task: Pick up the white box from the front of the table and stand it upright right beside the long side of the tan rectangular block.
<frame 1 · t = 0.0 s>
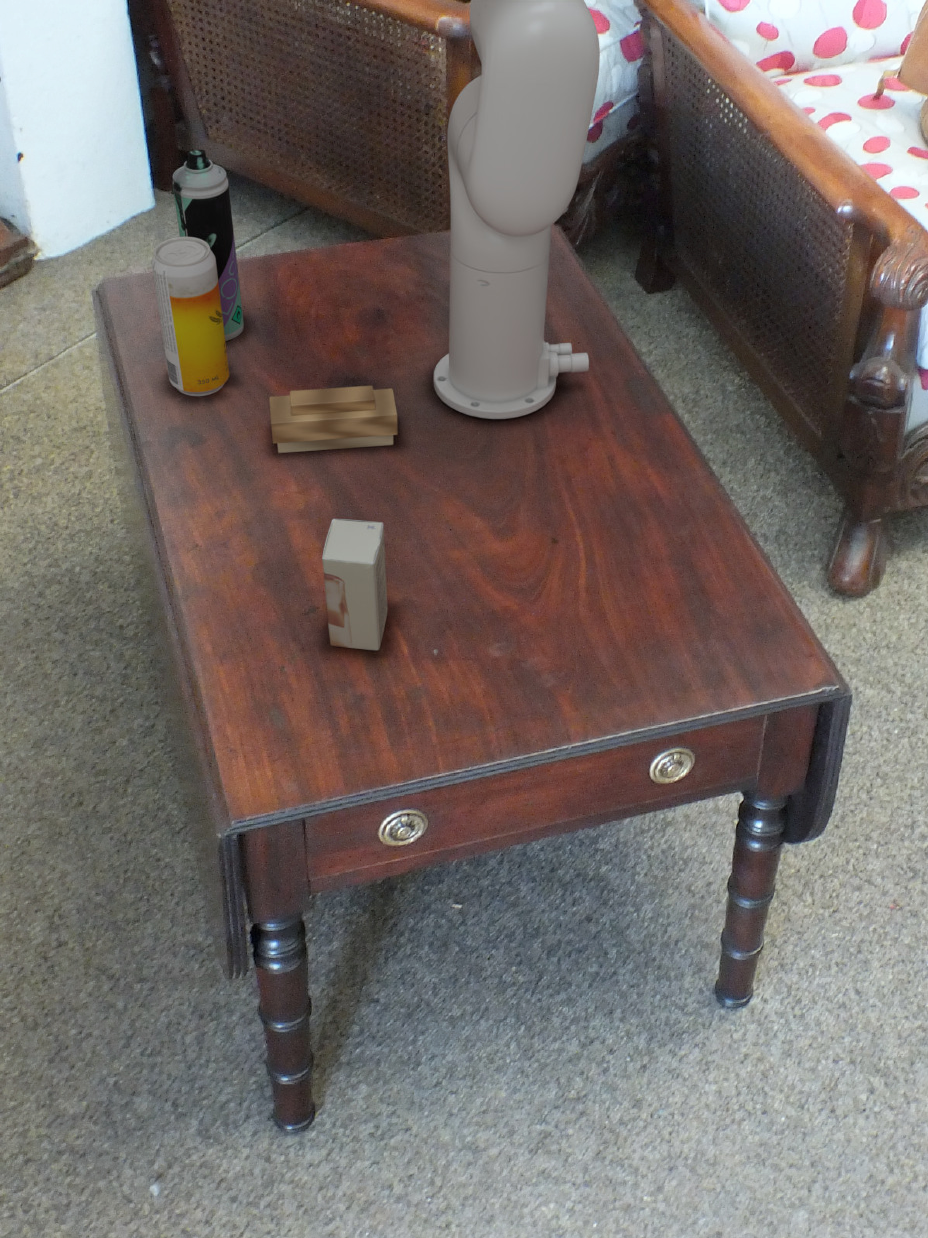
spray can: (218, 329, 149), on the table
beer can: (200, 383, 142), on the table
white box: (358, 630, 117), on the table
tan rectangular block: (334, 437, 136), on the table
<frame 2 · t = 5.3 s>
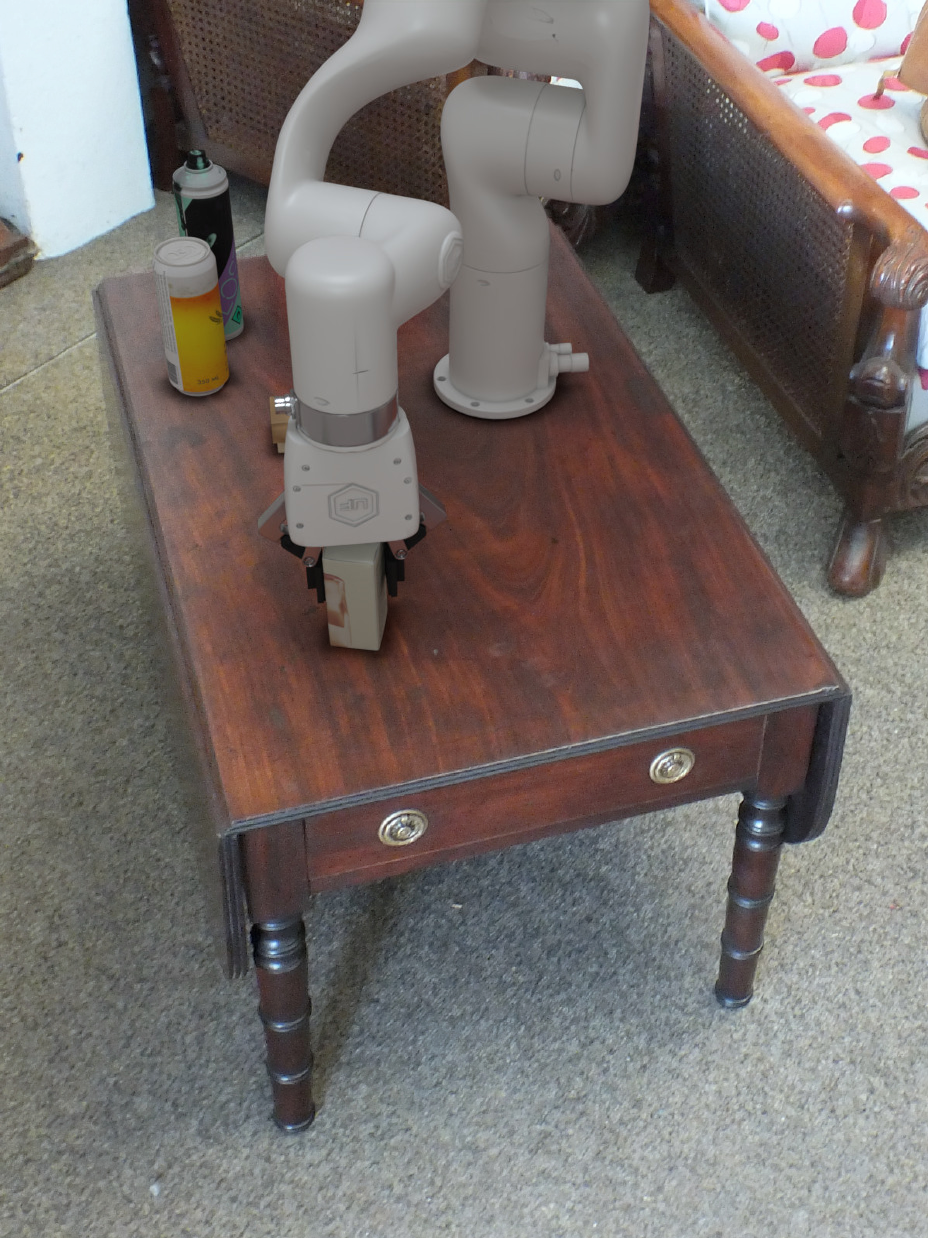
hand: (356, 587, 113), 5 cm above the table, tool pointing down, fingers closed on white box, 5 cm apart
white box: (358, 630, 117), on the table, touching gripper
everything else where it was.
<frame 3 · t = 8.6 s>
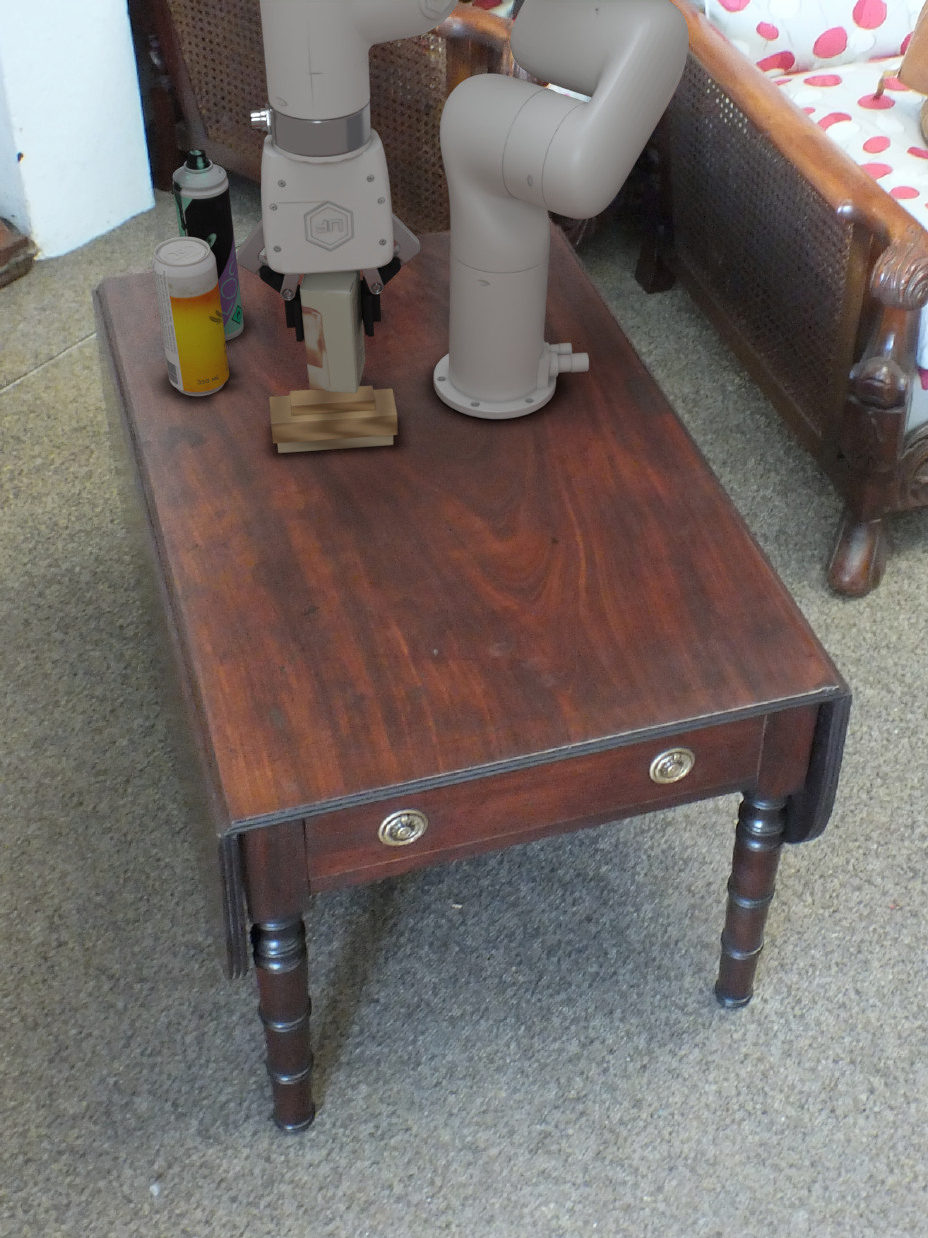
hand: (334, 328, 116), 18 cm above the table, tool pointing down, fingers closed on white box, 5 cm apart
white box: (336, 378, 120), point 13 cm above the table, touching gripper
everything else where it was.
when the fingers open (5 cm above the table, at t = 12.0 s): white box stays where it is, on the table.
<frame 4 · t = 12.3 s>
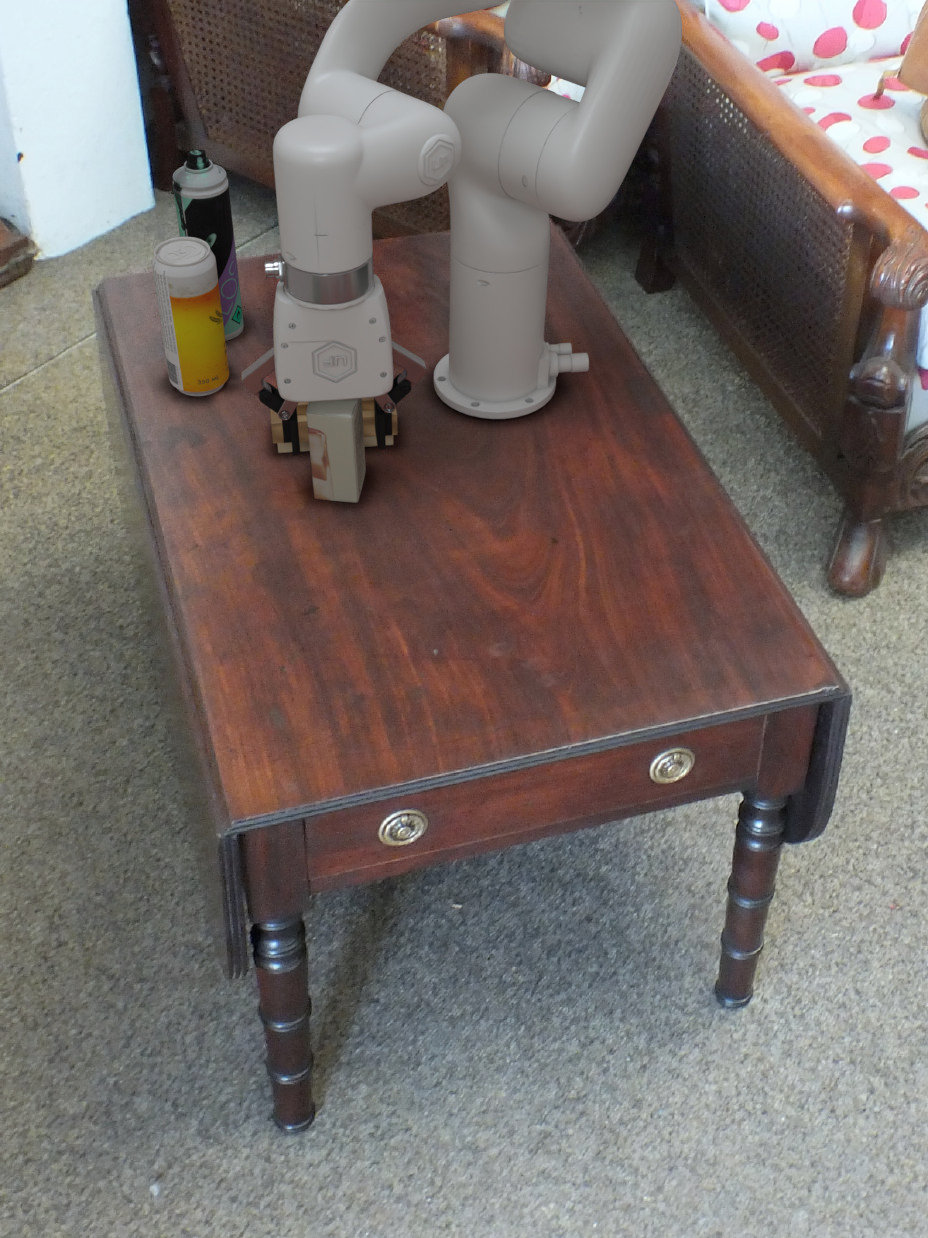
hand: (338, 442, 127), 5 cm above the table, tool pointing down, fingers open, 7 cm apart
white box: (339, 487, 130), on the table
everything else where it was.
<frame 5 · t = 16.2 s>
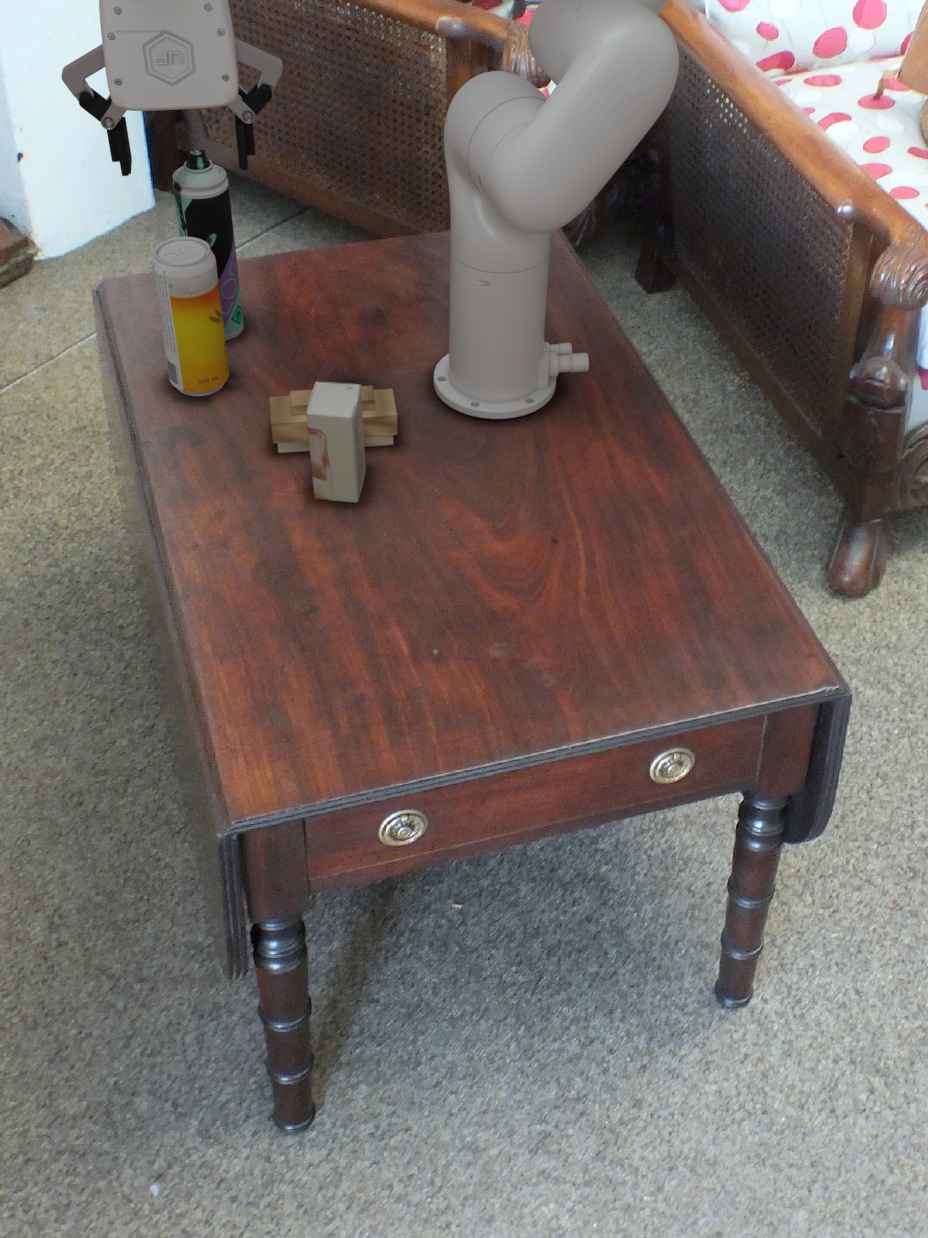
hand: (185, 165, 115), 28 cm above the table, tool pointing down, fingers open, 9 cm apart
nothing on the table moved.
at the end: white box inside the target area on the table beside the tan rectangular block (0.1 cm from its centre), on the table; white box tilted 0°; the gripper is holding nothing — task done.
